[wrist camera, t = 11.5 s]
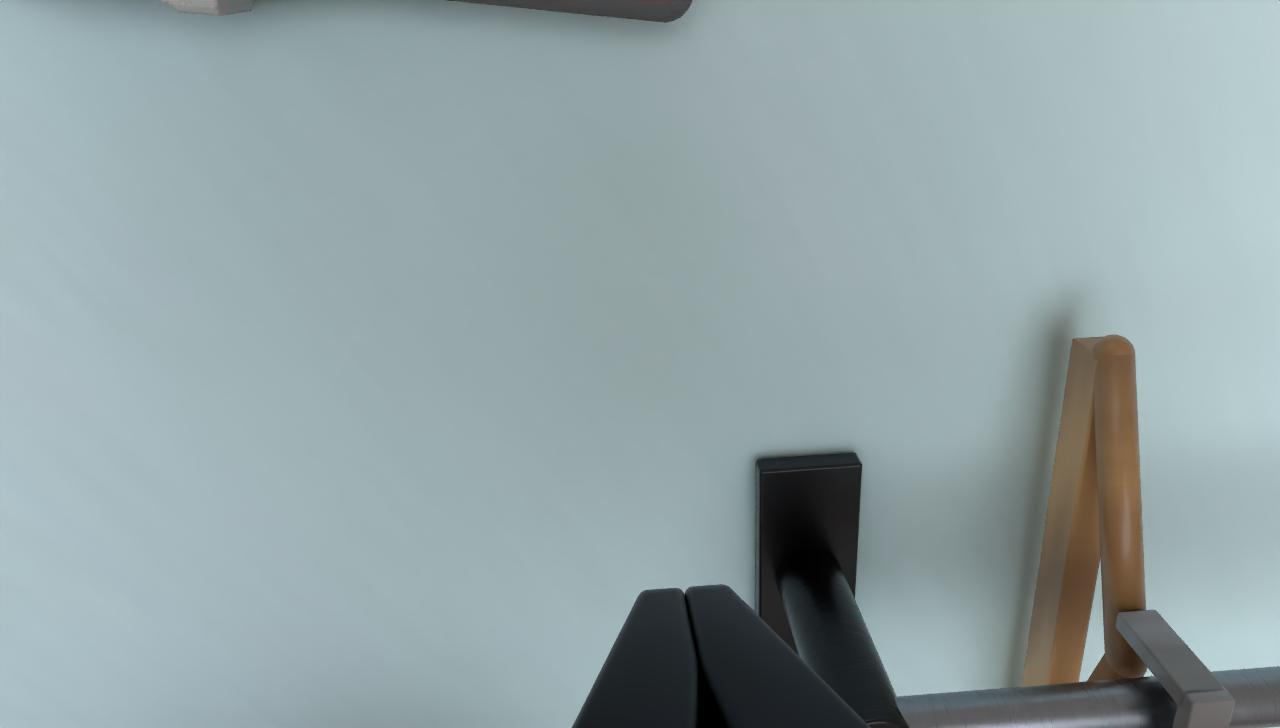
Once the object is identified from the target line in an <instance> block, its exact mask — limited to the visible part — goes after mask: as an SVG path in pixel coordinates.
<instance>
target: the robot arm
mask: <svg viewBox="0 0 1280 728" xmlns="http://www.w3.org/2000/svg"><path fill="white" fill-rule="evenodd" d="M572 728H871V727H870V726H869V725H868V724H867V723H866V722H865V721H864V720H863V719H862V718H861V717H860V716H859V715H858V714H857V713H856V712H855V711H854V710H853V709H852V708H851V707H850V706H849V705H848V704H847V703H845V702H844V701H843V700H842V699H841V698H840V697H839V696H838V695H837V694H836V693H835V692H834V691H833V690H832V689H831V688H830V687H829V686H828V685H827V684H826V683H825V682H824V681H823V680H822V679H821V678H820V677H819V676H818V675H817V674H816V673H815V672H814V671H813V670H812V669H811V668H810V667H809V666H808V665H807V664H806V663H805V662H804V661H803V660H802V659H801V658H800V657H799V656H798V655H797V654H796V653H795V652H794V651H793V650H792V649H791V648H790V647H789V646H788V645H787V644H786V643H785V642H784V641H783V640H782V639H781V638H780V637H779V636H778V635H777V634H776V633H775V632H774V631H773V630H772V629H771V628H770V627H769V626H768V625H767V624H766V623H765V622H764V621H763V620H762V619H761V618H760V617H759V616H758V615H757V614H756V613H755V612H754V611H753V610H752V609H751V608H750V607H749V606H748V605H747V604H746V603H745V602H744V601H743V600H742V599H741V598H740V597H739V596H738V595H737V594H736V593H735V592H734V591H733V590H732V589H731V588H730V587H728V586H726V585H722V584H720V585H707V586H694V587H689V588H688V589H686V591H685V595H684V593H683V591H682V590H681V589H679V588H667V589H653V590H645V591H643V592H641V593H640V594H639V596H638V598H637V600H636V602H635V604H634V606H633V607H632V609H631V611H630V613H629V615H628V617H627V619H626V621H625V623H624V625H623V627H622V629H621V631H620V633H619V635H618V637H617V639H616V641H615V643H614V645H613V647H612V649H611V651H610V653H609V655H608V657H607V659H606V661H605V663H604V665H603V667H602V669H601V671H600V673H599V675H598V677H597V679H596V681H595V683H594V685H593V687H592V689H591V691H590V693H589V695H588V697H587V699H586V701H585V703H584V705H583V707H582V709H581V711H580V713H579V715H578V717H577V719H576V721H575V723H574V725H573V727H572Z"/></svg>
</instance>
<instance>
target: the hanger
mask: <svg viewBox="0 0 1280 728" xmlns="http://www.w3.org/2000/svg"><path fill="white" fill-rule="evenodd" d="M1100 557H1101V576H1102V598H1103V621H1104V643H1105V654H1104V656H1103V657H1102V659H1101V660H1100V662H1099V663H1098V665H1097V666H1096V668H1095V670H1094V671H1093V673H1092V674H1091V676H1090V677H1089V679H1088V680H1087V682H1089V681H1101V680H1114V679H1126V678H1139V677H1143V676H1144V674H1145V673H1146V671H1147V668H1149V670H1150V671H1151V672H1152V673H1153V675H1154V676H1155V677H1156V678H1157V680H1158V681H1159V682H1160V683H1161V685H1162V686H1163V687H1164V688H1165V690H1166V691H1167V692H1168V693H1169V695H1170V696H1171V697H1172V698H1173V699H1174V701H1175V702H1176V703H1177V704H1178V706H1177V710H1176V715H1175V719H1174V723H1173V728H1229V724H1230V720H1231V716H1232V712H1233V709H1234V705H1235V699H1234V698H1233V697H1232V696H1231V695H1230V693H1229V692H1228V691H1227V690H1226V689H1225V688H1224V687H1223V686H1222V684H1221V683H1220V682H1219V681H1218V680H1217V679H1216V678H1215V677H1214V675H1213V674H1212V673H1211V672H1210V671H1209V670H1208V669H1207V667H1206V666H1205V665H1204V664H1203V663H1202V662H1201V661H1200V660H1199V658H1198V657H1197V656H1196V655H1195V654H1194V653H1193V652H1192V651H1191V649H1190V648H1189V647H1188V646H1187V645H1186V644H1185V643H1184V641H1183V640H1182V639H1181V638H1180V637H1179V636H1178V635H1177V634H1176V632H1175V631H1174V630H1173V629H1172V628H1171V627H1170V626H1169V625H1168V623H1167V622H1166V621H1165V620H1164V619H1163V618H1162V617H1161V615H1160V614H1159V613H1158V612H1157V611H1156V610H1146V600H1145V576H1144V553H1143V529H1142V506H1141V482H1140V458H1139V435H1138V411H1137V388H1136V364H1135V350H1134V347H1133V345H1132V344H1131V342H1130V341H1129V340H1128V339H1126V338H1125V337H1122V336H1119V335H1108V336H1104V337H1090V338H1075V339H1073V340H1072V345H1071V351H1070V358H1069V365H1068V372H1067V379H1066V386H1065V393H1064V399H1063V406H1062V413H1061V420H1060V427H1059V434H1058V441H1057V447H1056V454H1055V461H1054V468H1053V475H1052V482H1051V489H1050V495H1049V502H1048V509H1047V516H1046V523H1045V530H1044V536H1043V543H1042V550H1041V557H1040V564H1039V571H1038V578H1037V584H1036V591H1035V598H1034V605H1033V612H1032V619H1031V626H1030V632H1029V639H1028V646H1027V653H1026V660H1025V667H1024V673H1023V680H1022V687H1026V686H1038V685H1051V684H1063V683H1076V682H1079V676H1080V670H1081V665H1082V659H1083V653H1084V648H1085V642H1086V636H1087V630H1088V625H1089V619H1090V613H1091V608H1092V602H1093V596H1094V591H1095V585H1096V579H1097V574H1098V568H1099V562H1100Z"/></svg>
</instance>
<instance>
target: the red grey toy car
mask: <svg viewBox="0 0 1280 728" xmlns="http://www.w3.org/2000/svg"><path fill="white" fill-rule="evenodd" d="M157 1H164V2H166V3H167V4H169V5H170V6H171V7H173V8H174V9H175V10H177V11H178V12H184V13H196V14H209V15H228V14H234V13H240V12H246V11H251V8H252V5H253V0H157ZM449 1H459V2H469V3H479V4H489V5H499V6H508V7H518V8H528V9H538V10H548V11H558V12H568V13H578V14H588V15H598V16H607V17H617V18H627V19H637V20H647V21H657V22H670V21H674V20H676V19H678V18H680V17H681V16H682V15H683V14H684V13H685V12H686V11H687V10H688V8H689V7H690V5H691V3H692V0H449Z"/></svg>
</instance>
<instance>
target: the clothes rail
mask: <svg viewBox="0 0 1280 728" xmlns="http://www.w3.org/2000/svg"><path fill="white" fill-rule="evenodd" d="M861 475H862V464H861V462H860V460H859V458H858V456H857V455H856V453H843V454H829V455H814V456H800V457H786V458H771V459H758V460H757V461H756V563H755V613H756V614H757V615H758V616H759V617H760V618H761V619H762V620H763V621H764V622H765V623H766V624H767V625H768V626H769V627H770V628H771V629H772V630H773V631H774V632H775V633H776V634H777V635H778V636H779V637H780V638H781V639H782V640H783V641H784V642H785V643H786V644H787V645H788V646H789V647H790V648H791V649H792V650H793V651H794V652H795V653H796V654H797V655H798V656H799V657H800V658H801V659H802V660H803V661H804V662H805V663H806V664H807V665H808V666H809V667H810V668H811V669H812V670H813V671H814V672H815V673H816V674H817V675H818V676H819V677H820V678H821V679H822V680H823V681H824V682H825V683H826V684H827V685H828V686H829V687H830V688H831V689H832V690H833V691H834V692H835V693H836V694H837V695H838V696H839V697H840V698H841V699H842V700H843V701H844V702H845V703H847V704H848V705H849V706H850V707H851V708H852V709H853V710H854V711H855V712H856V713H857V714H858V715H859V716H860V717H861V718H862V719H863V720H864V721H865V722H866V723H867V724H868V725H869V726H870V727H871V728H1173V723H1174V719H1175V715H1176V710H1177V706H1178V704H1177V703H1176V702H1175V701H1174V699H1173V698H1172V697H1171V696H1170V695H1169V693H1168V692H1167V691H1166V690H1165V688H1164V687H1163V686H1162V685H1161V683H1160V682H1159V681H1158V680H1157V678H1156V677H1155V676H1151V677H1139V678H1126V679H1114V680H1101V681H1089V682H1076V683H1063V684H1051V685H1038V686H1026V687H1013V688H1000V689H988V690H975V691H963V692H950V693H938V694H925V695H912V696H900V697H897V696H896V694H895V692H894V689H893V687H892V685H891V682H890V680H889V678H888V676H887V673H886V671H885V669H884V666H883V664H882V662H881V659H880V657H879V655H878V652H877V650H876V648H875V645H874V643H873V641H872V638H871V636H870V634H869V631H868V629H867V627H866V624H865V622H864V620H863V617H862V615H861V613H860V610H859V608H858V606H857V603H856V601H855V586H856V567H857V549H858V531H859V512H860V494H861ZM1211 673H1212V674H1213V675H1214V677H1215V678H1216V679H1217V680H1218V681H1219V682H1220V683H1221V684H1222V686H1223V687H1224V688H1225V689H1226V690H1227V691H1228V692H1229V693H1230V695H1231V696H1232V697H1233V698H1234V699H1235V705H1234V709H1233V712H1232V716H1231V720H1230V724H1229V728H1269V727H1280V666H1277V667H1265V668H1252V669H1240V670H1227V671H1214V672H1211Z"/></svg>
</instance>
